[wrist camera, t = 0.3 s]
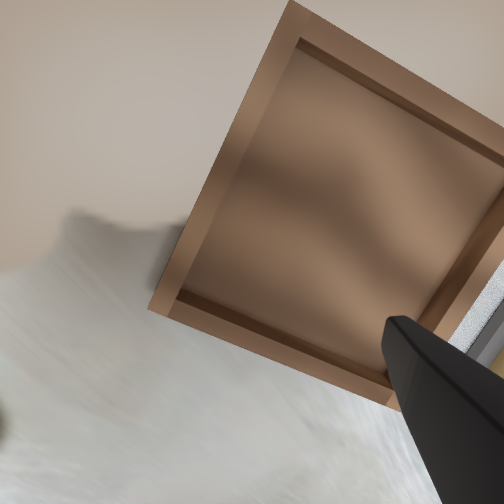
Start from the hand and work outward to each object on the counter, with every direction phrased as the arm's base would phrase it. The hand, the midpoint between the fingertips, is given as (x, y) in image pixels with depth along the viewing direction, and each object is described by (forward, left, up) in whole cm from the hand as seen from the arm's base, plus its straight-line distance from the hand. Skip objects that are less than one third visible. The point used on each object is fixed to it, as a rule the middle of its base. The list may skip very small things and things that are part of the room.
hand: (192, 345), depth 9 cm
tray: (+4, -7, -15) cm, 17 cm away
